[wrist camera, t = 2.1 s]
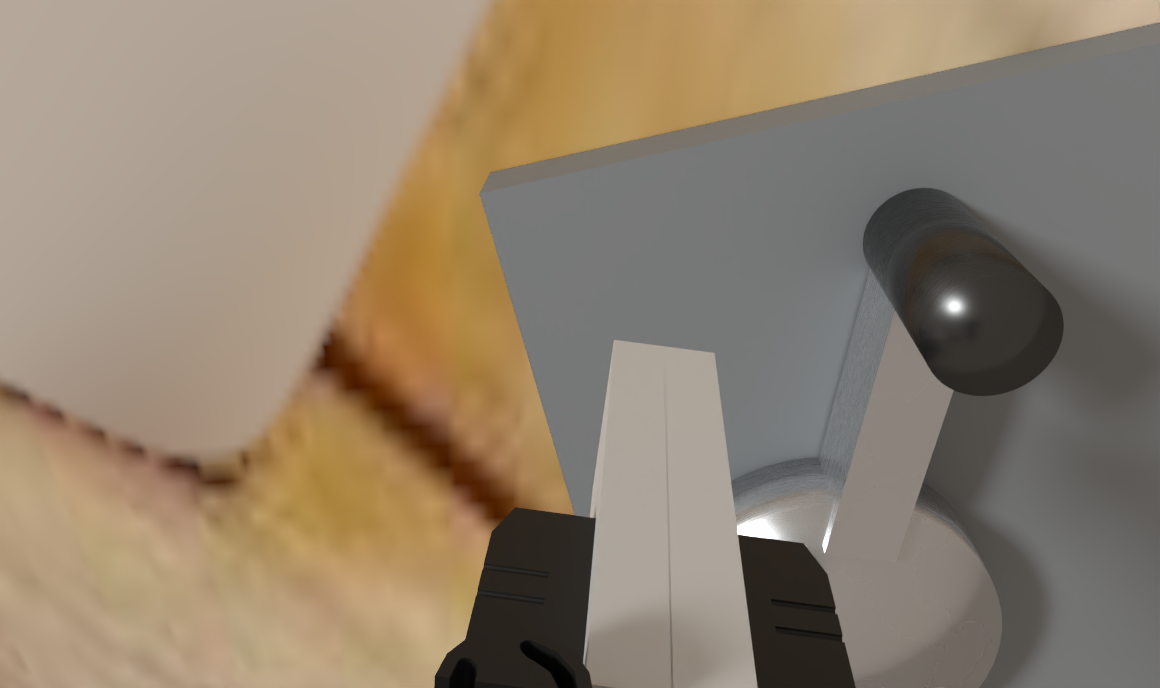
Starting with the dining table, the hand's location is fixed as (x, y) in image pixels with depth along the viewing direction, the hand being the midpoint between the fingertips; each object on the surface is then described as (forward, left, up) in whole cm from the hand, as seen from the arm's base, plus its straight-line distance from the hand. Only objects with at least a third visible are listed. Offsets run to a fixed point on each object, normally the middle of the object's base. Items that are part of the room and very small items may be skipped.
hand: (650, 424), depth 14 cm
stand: (+8, -10, -14) cm, 19 cm away
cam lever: (+4, -10, -12) cm, 16 cm away
